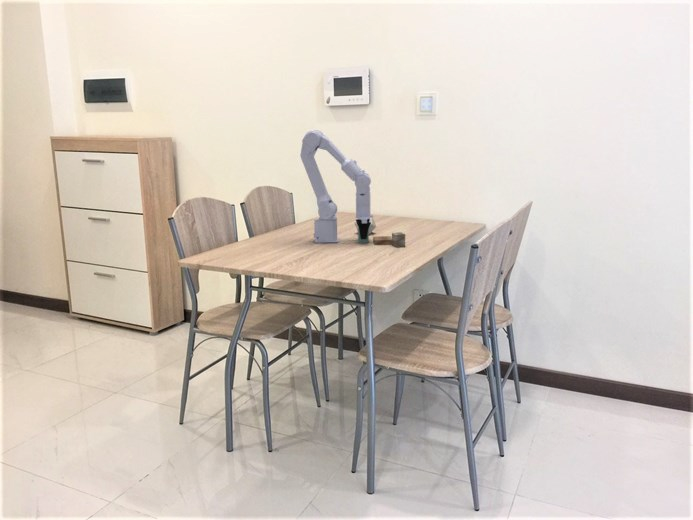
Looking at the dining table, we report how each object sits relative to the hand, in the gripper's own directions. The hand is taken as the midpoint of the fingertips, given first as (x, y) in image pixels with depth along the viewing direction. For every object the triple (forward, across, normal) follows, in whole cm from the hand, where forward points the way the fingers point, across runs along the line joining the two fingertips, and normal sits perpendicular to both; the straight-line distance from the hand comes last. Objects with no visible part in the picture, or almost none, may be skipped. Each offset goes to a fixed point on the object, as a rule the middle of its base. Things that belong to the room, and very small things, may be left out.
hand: (363, 238), depth 234 cm
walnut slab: (+2, -4, -8) cm, 8 cm away
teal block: (+1, 0, 0) cm, 1 cm away
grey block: (+2, -10, -13) cm, 16 cm away
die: (+2, +16, -2) cm, 17 cm away
